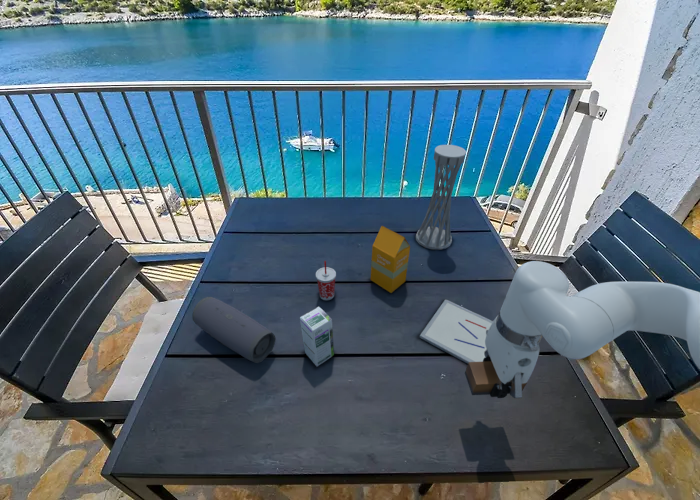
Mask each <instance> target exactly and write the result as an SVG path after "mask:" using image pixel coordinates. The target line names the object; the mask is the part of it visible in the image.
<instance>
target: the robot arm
mask: <svg viewBox="0 0 700 500" xmlns="http://www.w3.org/2000/svg"><path fill="white" fill-rule="evenodd" d="M569 287H570V283H569V280H568V277H567V275H566V274H565V273H564V272H563V271H562V270H561V269H560V268H559V267H556V266H555V265H553V264H551V263H549V262H545V261H541V260H539V261H538V260H532V261H527V262H524V263H522V264H521V265H520V266H518V267H517V269H516V271H515V273H514V275H513V278H512V280H511V283H510V285H509V287H508V290H507V292H506V295H505V298H504V299H503V302H502V305H501V307H500V310H499V311H498V314H497V315H496V317H495V318H494V319H493V320H492V321H493V323H492V324H491V326H490V328H489V330H486V339H485V345H486V348H487V350H486V351H485V352H484V355H485V357H486V358H484V359H483V362H486V361H492V363H493V366H494V368H495V370H496V373H497V375H498V382H497V383H495V384H494V386H493V388H492V390H491V392H490V395H489V396H490V397H491V398H497V399H504V398H506V397H507V396H508V395H510V396H511V397H512V398H513V399H522V397H523V391H522V384H524V383H527V384H528V382H529V380H530V378H531V376H532V374H533V372H534V369H535V367H536V365H537V362H538V359H539V355H540V349H541V348H540V345H539V343H540V342H541V340H542V338H543V339H544V340H545V341H546V342H547V343H548V345H549V346H550V347H551V348H552V349H553V350H554V351H555V352H556V353H558V354H559V355H561V356H562V357H564V358H567V359H570V360H581V359H582V360H583V359H585V358H587V357H589V356H591V355H593V354H594V353H596V352H597V351H599V350H600V349H601V348H603V347H605V346H606V345H608V344H609V343H611V342H612V341H614V340H615V339H616V338H618V337H620V336H622V334H623V335H624V334H625V333H626V332H627V331H633V332H634V331H635V332H645V333H651V334H652V333H653V334H661V335H666V336H667V335H668V336H672V337H676V338H678V339H682V340H684V341H686V344H687V348H688V351H689V354H690V357H691V358H692V361H693V362H694V364H695V366H696V367H697V369H698V370H700V291H697V290H694V289H690V288H686V287H683V286H681V285H677V284H673V283H669V282H668V283H667V282H661V281H660V282H659V281H607V282H599V283H596V284H593V285H590V286H587V287H585V288H583V289H582V290H580V291H578V292H576V293H575V294H573V295H568V291H569V289H570V288H569ZM508 393H509V394H508Z"/></svg>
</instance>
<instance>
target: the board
mask: <svg viewBox="0 0 700 500" xmlns="http://www.w3.org/2000/svg"><path fill="white" fill-rule="evenodd" d="M493 321H494V320H491V319H489V318H487V317H485V316H483V315H481V314H479V313H476V312H474V311H472V310H470V309H467V308H465V307H463V306H461V305H459V304H457V303H455V302H453V301H451V300H448V299H444V301H443V302H442V304H441V305H440V306H439V308H438V309H437V311H436V312H435V314H434V315H433V316H432V317H431V319H430V320H429V322H428V323H427V325H425V327H424V329H423V330H422V331H421V333H420V335H419V339H421V340H422V341H424V342H426V343H429V344H430V345H432V346H434V347H436V348H438V349H439V350H442V351H443V352H446V353H447V354H449V355H451V356H453V357H455V358H456V359H458V360H460V361H462V362H464V363H466V365H468V363H469V362H483V359H484V358H486V357H485V355H484V352H485V351H486V350H487V348H486V345H485V339H486V330H489V328H490V326H491V324H492V323H493Z"/></svg>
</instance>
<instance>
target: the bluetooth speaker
mask: <svg viewBox="0 0 700 500" xmlns="http://www.w3.org/2000/svg"><path fill="white" fill-rule="evenodd" d="M191 318H192V322H193V323H194V324H196V326H198V327H199V328H200V329H201V330H203V331H204V332H205V333H207V335H209V336H210V337H211V338H213V339H215V340H216V341H217V342H218V343H219V344H221V345H222V346H224V347H226V348H228V349H230V350H231V351H232V352H234V353H236V354H238V355H240V356H242V357H243V358H245V359H246V360H248V361H251V362H252V363H255V364H259V363H261V362H263V361H264V360H265V359H266V358H267V357H268V356H269V355H270V354H271V352H272V351H273V350H274V347H275V345H276V335H275V333H273V332H272V330H270V329H269V328H267V327H265V326H264V325H263V324H261V322H258V321H257V320H255V319H254V318H252V317H250V316H249V315H247V314H246V313H244V312H242V311H241V310H239V309H237V308H235V307H234V306H232V305H230V304H228V303H226V302H224V301H222V300H220V299H219V298H215V297H213V296H206V297H203V298H201V299H200V300H199V301H198V302H197V303H196V305H195V306H194V308H193V310H192V317H191Z"/></svg>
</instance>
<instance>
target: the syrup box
mask: <svg viewBox="0 0 700 500" xmlns="http://www.w3.org/2000/svg"><path fill="white" fill-rule="evenodd" d="M299 324H300V329H301V335H302V343H303V349H304V353H305V354H306V356H307V357H308V358H309V359H310V361H311V362H312V363H313V364H314V365H315V366H316V367H319V366H320V365H322V364H323V363H325V362H326V361H328V360H329V359H330V358H332V357H333V356H335V348H334V346H335V345H334V333H333V332H334V330H333V319H332V318H331V316H329V315H328V313H326V312H325V310H323V309H322V308H321V307H320V306H317V307H315V308H314V309H312V310H310V311H308V312H307V313H305V314H303V315H301V316H300V317H299Z"/></svg>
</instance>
